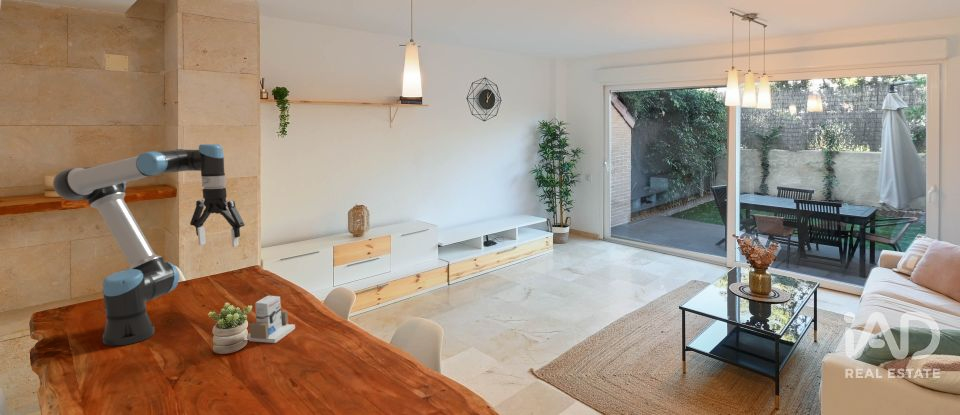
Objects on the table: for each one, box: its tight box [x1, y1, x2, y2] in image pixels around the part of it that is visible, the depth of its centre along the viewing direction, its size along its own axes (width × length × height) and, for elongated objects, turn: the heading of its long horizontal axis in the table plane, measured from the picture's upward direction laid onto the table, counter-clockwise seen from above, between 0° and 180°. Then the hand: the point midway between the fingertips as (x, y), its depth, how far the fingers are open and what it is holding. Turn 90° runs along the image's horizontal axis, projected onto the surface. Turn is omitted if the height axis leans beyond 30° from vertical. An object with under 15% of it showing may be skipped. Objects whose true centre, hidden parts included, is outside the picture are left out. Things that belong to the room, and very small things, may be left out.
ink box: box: [254, 295, 282, 335], centre depth 179 cm, size 8×5×12 cm, turn 169°
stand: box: [247, 309, 296, 344], centre depth 180 cm, size 12×14×6 cm
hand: (219, 245), depth 181 cm, fingers open, 13 cm apart
